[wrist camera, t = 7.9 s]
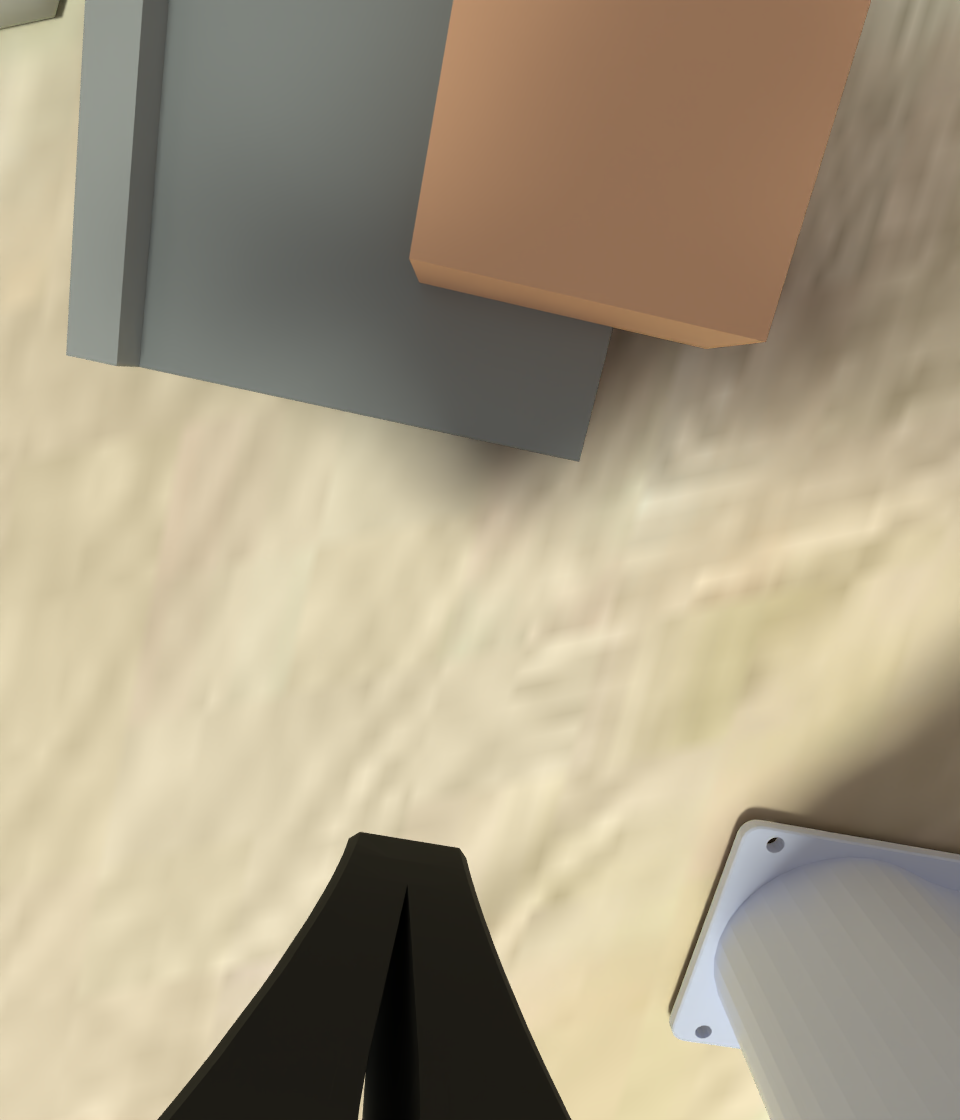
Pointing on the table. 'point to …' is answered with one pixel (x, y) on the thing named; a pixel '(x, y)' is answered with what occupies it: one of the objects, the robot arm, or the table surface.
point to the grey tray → (295, 221)
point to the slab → (631, 157)
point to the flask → (26, 11)
